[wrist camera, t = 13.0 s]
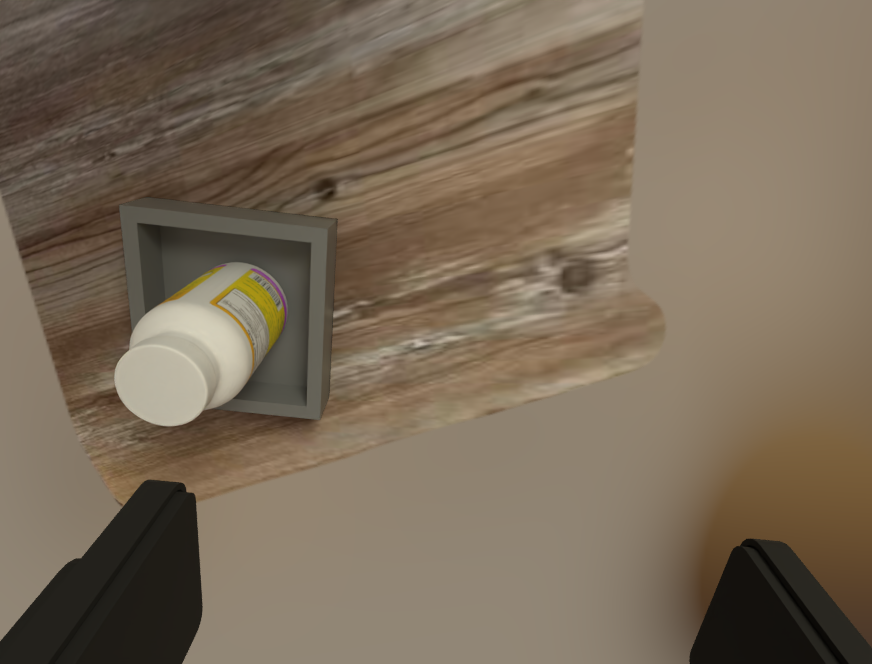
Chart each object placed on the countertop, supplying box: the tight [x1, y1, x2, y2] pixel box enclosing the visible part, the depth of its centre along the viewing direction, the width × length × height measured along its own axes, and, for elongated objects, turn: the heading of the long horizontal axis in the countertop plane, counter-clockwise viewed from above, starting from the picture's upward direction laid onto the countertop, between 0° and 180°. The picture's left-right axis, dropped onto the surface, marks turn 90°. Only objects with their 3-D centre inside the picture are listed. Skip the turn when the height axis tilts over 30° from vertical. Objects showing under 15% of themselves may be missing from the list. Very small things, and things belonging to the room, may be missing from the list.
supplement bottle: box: [114, 262, 288, 426], centre depth 33 cm, size 7×7×13 cm
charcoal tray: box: [119, 197, 338, 420], centre depth 38 cm, size 14×13×4 cm
